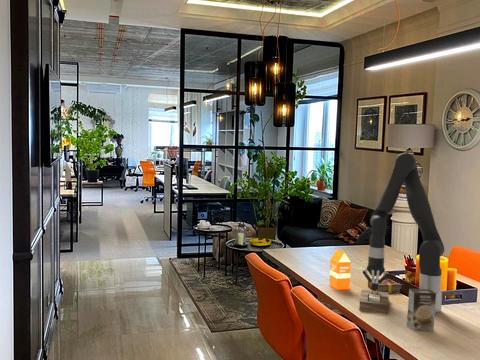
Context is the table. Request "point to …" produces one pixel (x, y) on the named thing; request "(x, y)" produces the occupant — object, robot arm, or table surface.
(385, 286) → the decorative book
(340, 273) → the orange juice
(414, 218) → the robot arm
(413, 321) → the coffee box
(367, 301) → the pocket block
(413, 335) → the table surface
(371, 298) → the tile
